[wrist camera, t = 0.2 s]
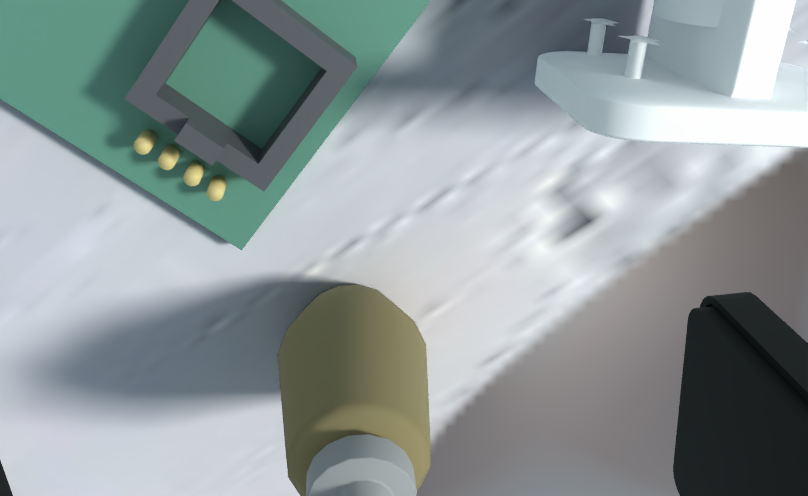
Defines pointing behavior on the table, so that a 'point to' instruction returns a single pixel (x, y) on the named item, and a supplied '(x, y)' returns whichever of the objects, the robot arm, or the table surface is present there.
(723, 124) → the cable organizer
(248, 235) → the board
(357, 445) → the squeeze bottle
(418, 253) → the table surface
